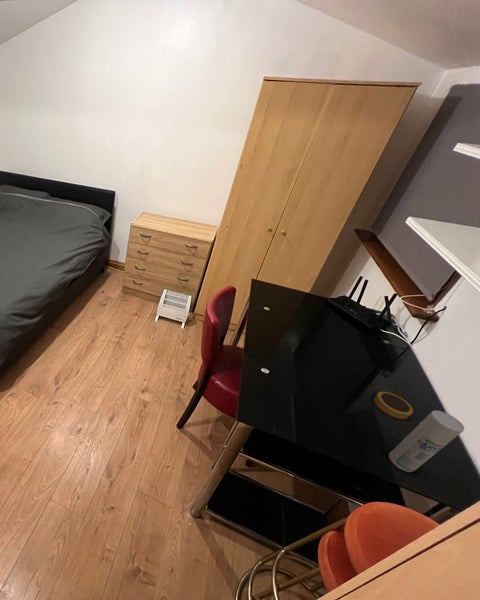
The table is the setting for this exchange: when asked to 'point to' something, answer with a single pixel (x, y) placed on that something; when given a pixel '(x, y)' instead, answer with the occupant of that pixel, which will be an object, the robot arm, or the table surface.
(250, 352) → the table surface
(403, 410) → the stand
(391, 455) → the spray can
